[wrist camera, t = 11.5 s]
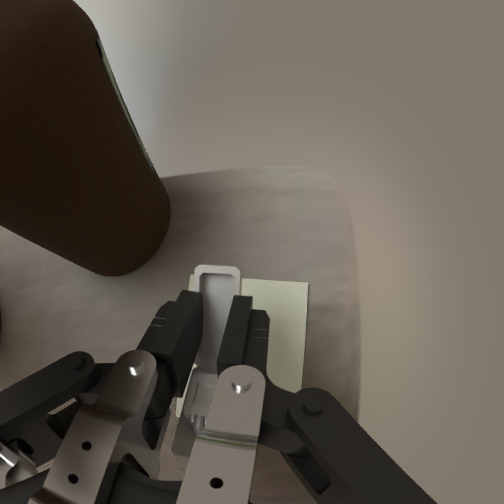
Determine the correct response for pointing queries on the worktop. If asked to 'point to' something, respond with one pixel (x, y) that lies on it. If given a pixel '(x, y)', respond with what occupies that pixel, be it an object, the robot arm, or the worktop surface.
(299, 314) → the mat
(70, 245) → the olive oil
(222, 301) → the lighter
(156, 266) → the worktop surface
